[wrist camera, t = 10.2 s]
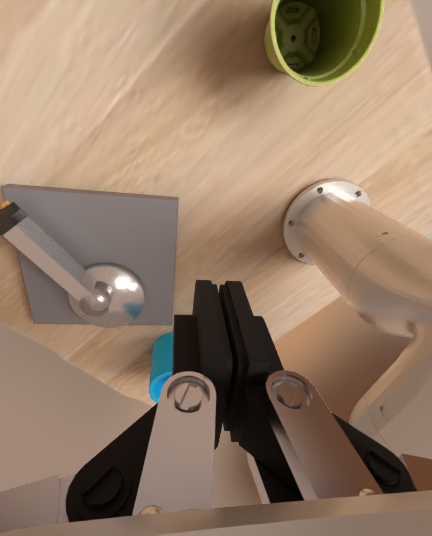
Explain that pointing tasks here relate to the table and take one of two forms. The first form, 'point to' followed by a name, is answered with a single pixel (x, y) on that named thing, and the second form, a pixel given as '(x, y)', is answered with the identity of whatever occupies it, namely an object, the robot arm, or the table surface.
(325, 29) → the plant pot
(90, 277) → the lever
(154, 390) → the mug
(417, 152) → the table surface
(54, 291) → the stand base
